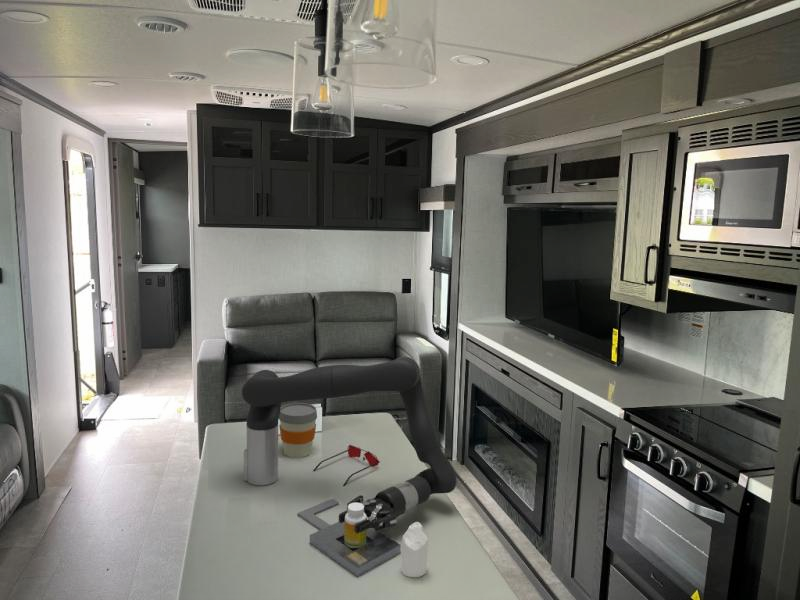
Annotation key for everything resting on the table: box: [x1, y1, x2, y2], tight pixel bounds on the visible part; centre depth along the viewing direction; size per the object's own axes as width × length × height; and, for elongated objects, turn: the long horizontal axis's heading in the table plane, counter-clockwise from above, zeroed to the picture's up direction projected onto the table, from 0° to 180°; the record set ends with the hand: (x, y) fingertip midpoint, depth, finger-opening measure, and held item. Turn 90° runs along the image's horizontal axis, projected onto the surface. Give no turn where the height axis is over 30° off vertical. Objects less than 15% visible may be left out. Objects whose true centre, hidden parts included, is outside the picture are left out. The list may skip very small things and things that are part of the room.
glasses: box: [312, 444, 381, 487], centre depth 190 cm, size 14×16×5 cm
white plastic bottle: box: [400, 521, 429, 578], centre depth 140 cm, size 6×12×6 cm
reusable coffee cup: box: [278, 402, 318, 459], centre depth 201 cm, size 13×13×15 cm
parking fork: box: [296, 498, 340, 531], centre depth 162 cm, size 12×14×1 cm
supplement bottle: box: [344, 503, 368, 549], centre depth 148 cm, size 5×5×10 cm
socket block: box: [309, 521, 402, 578], centre depth 149 cm, size 18×14×2 cm
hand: (347, 524), depth 146 cm, fingers closed on supplement bottle, 5 cm apart
